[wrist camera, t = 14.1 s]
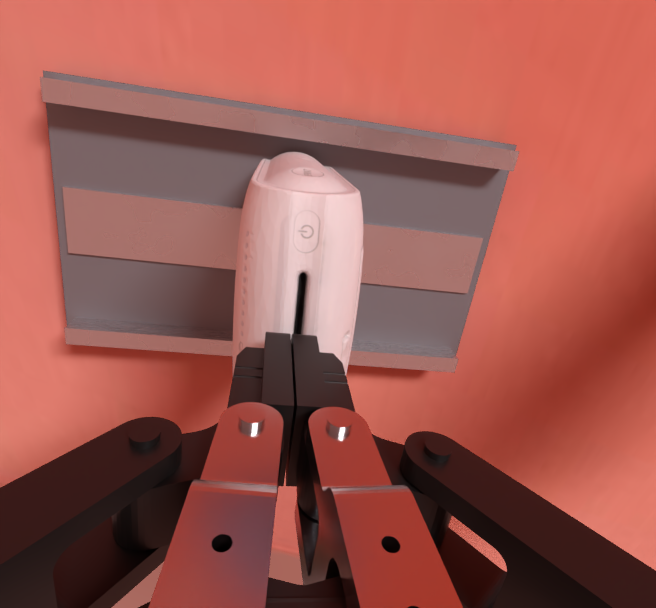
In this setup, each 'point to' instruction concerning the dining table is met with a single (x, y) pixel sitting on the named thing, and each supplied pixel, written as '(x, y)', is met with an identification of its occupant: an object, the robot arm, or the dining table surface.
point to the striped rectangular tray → (224, 223)
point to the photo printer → (298, 256)
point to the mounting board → (230, 190)
